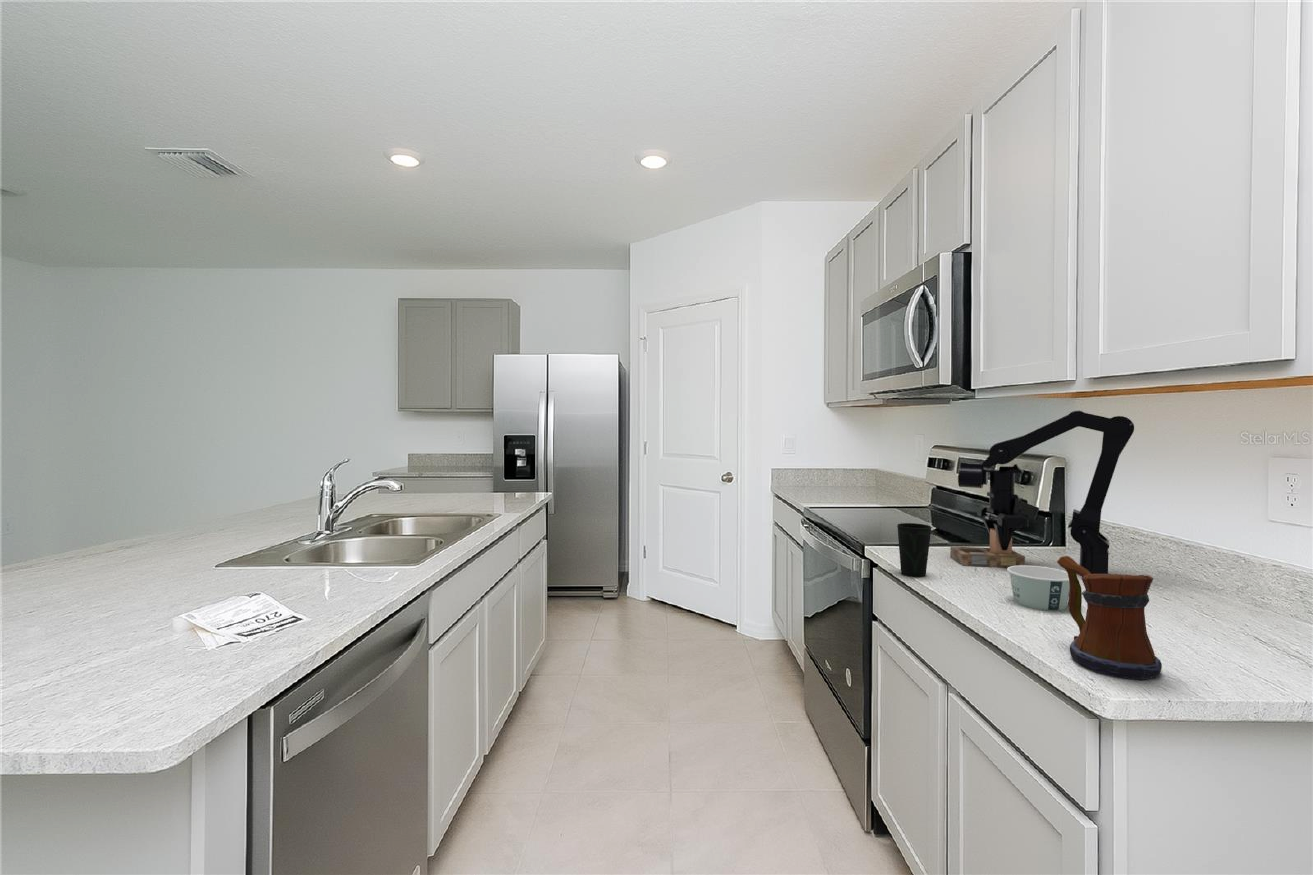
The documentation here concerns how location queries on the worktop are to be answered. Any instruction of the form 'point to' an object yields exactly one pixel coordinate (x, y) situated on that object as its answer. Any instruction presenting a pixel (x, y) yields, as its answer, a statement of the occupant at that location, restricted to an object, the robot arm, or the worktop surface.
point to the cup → (913, 548)
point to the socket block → (985, 557)
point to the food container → (1040, 587)
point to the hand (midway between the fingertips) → (1000, 548)
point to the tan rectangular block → (998, 544)
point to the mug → (1111, 623)
